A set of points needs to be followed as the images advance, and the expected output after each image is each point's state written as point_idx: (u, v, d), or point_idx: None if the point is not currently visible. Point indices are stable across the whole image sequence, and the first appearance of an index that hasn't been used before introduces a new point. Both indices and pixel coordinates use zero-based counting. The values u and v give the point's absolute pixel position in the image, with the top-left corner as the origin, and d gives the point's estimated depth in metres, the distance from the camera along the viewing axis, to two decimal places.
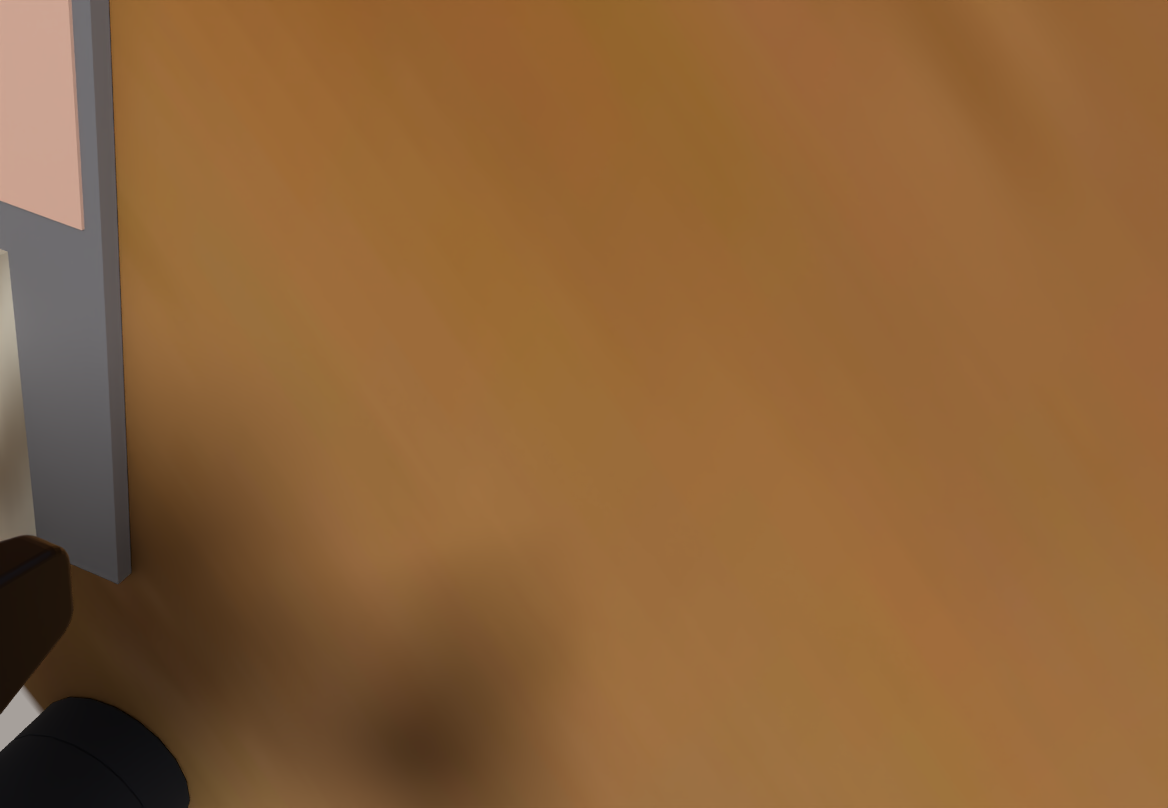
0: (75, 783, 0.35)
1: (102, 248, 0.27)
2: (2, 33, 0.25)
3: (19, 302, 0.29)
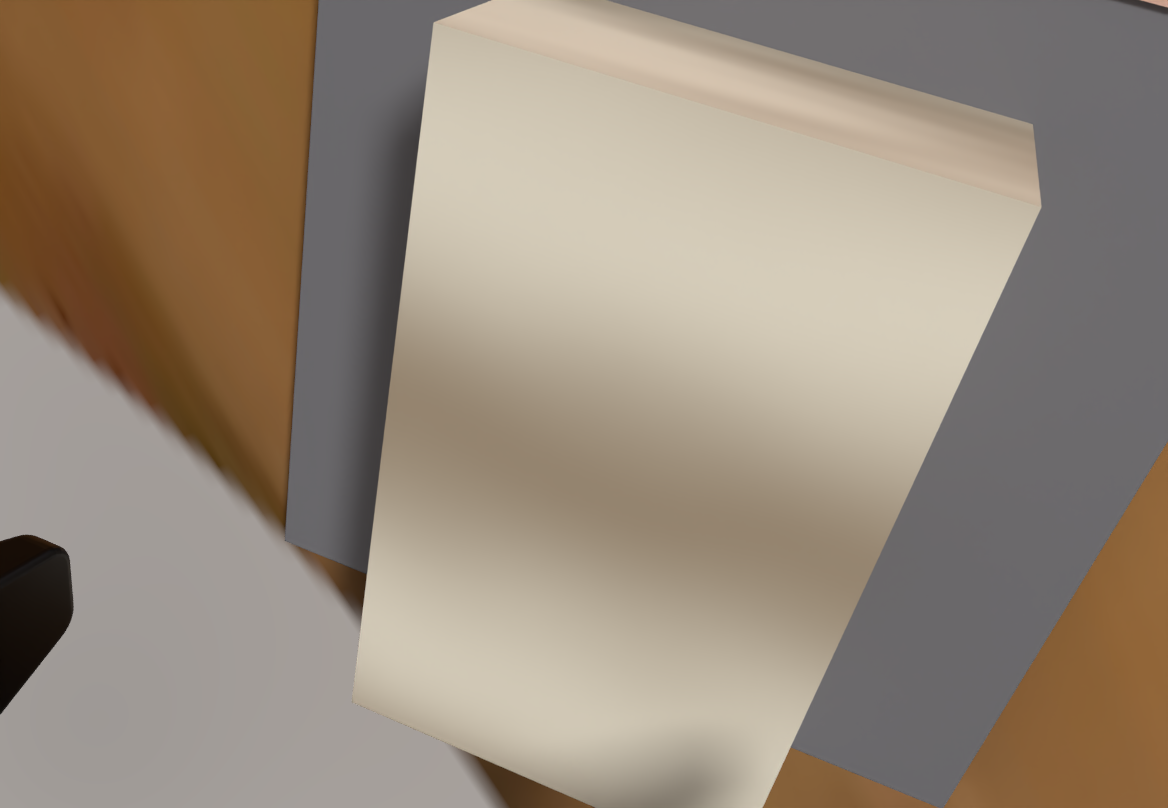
0: None
1: None
2: None
3: None
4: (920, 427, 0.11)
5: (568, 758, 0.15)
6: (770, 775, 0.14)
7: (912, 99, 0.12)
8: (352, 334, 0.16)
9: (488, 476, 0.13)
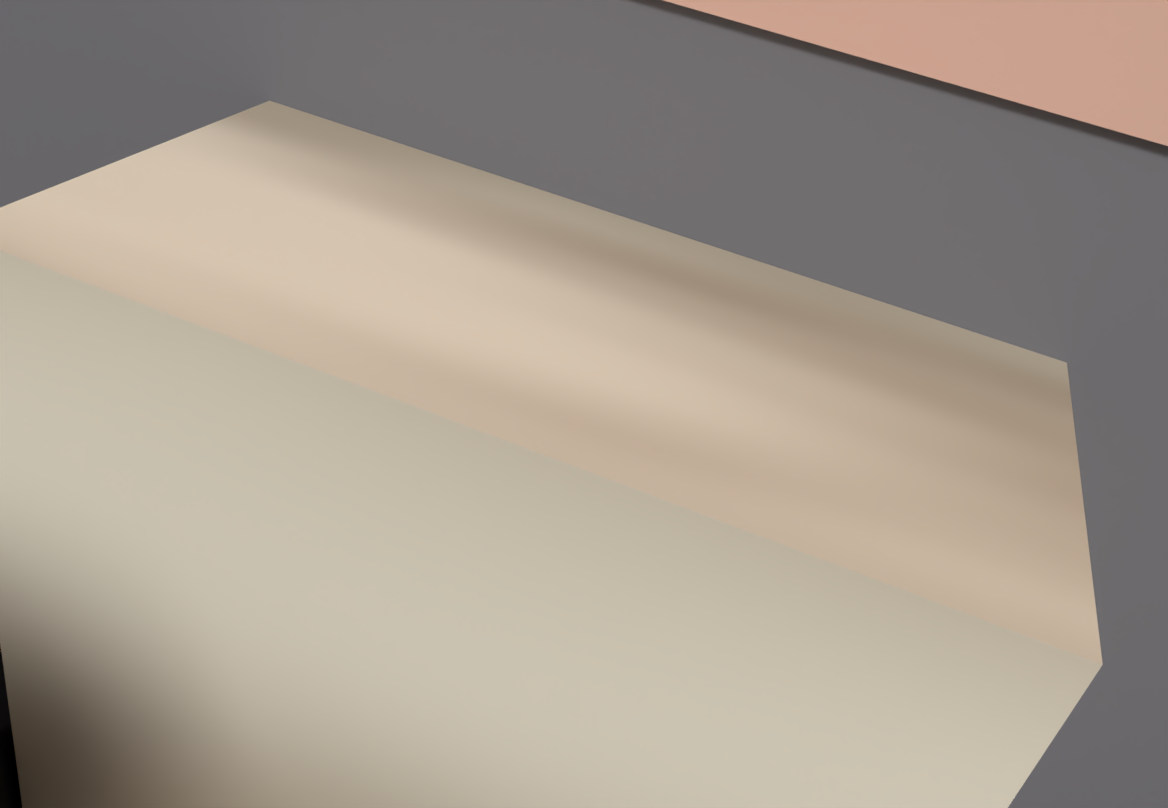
0: None
1: None
2: None
3: None
4: None
5: None
6: None
7: (860, 325, 0.07)
8: None
9: None
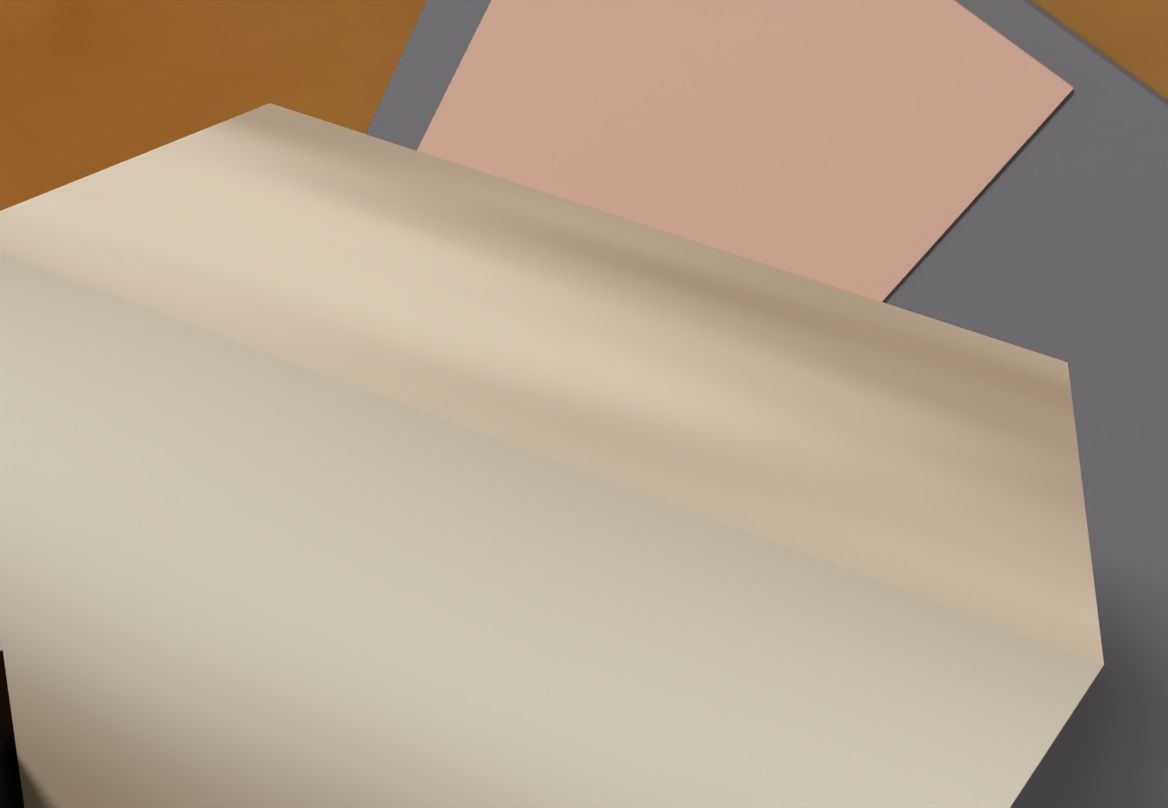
0: None
1: (1121, 73, 0.15)
2: (743, 27, 0.16)
3: (1117, 323, 0.16)
4: None
5: None
6: None
7: (860, 325, 0.07)
8: None
9: None
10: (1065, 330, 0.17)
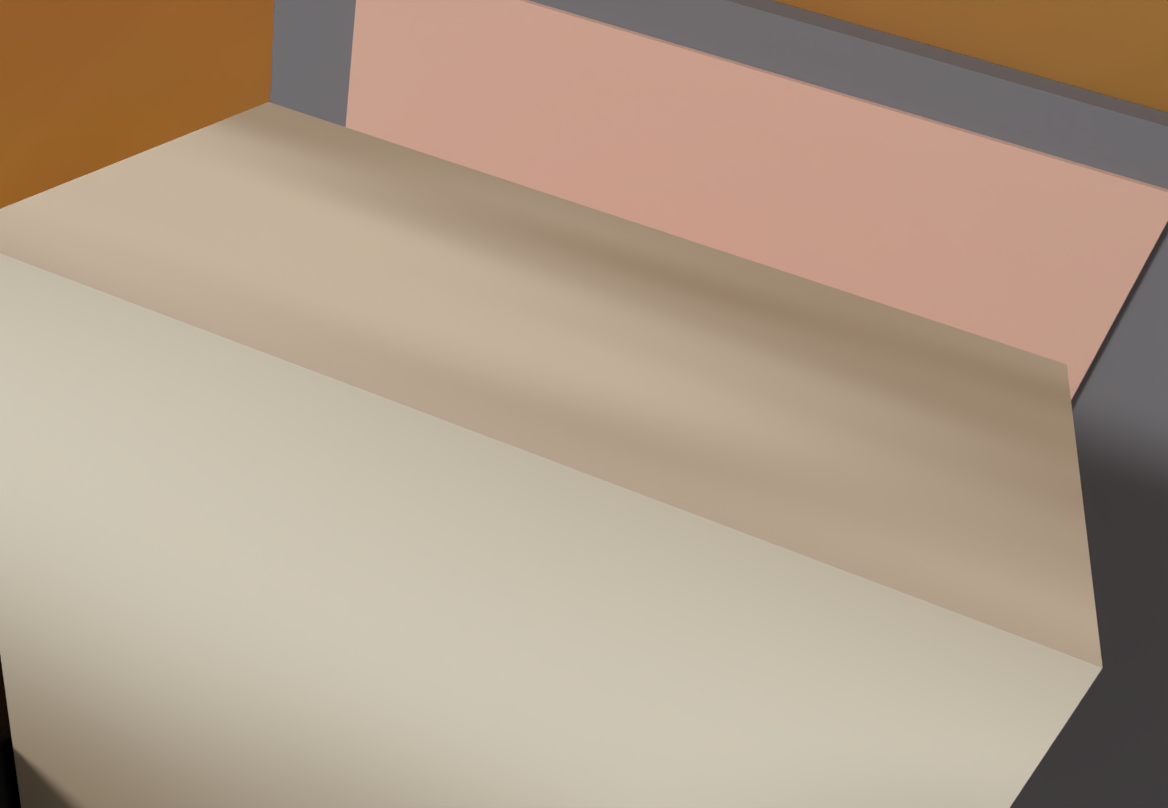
0: None
1: None
2: None
3: None
4: None
5: None
6: None
7: (859, 326, 0.07)
8: None
9: None
10: None
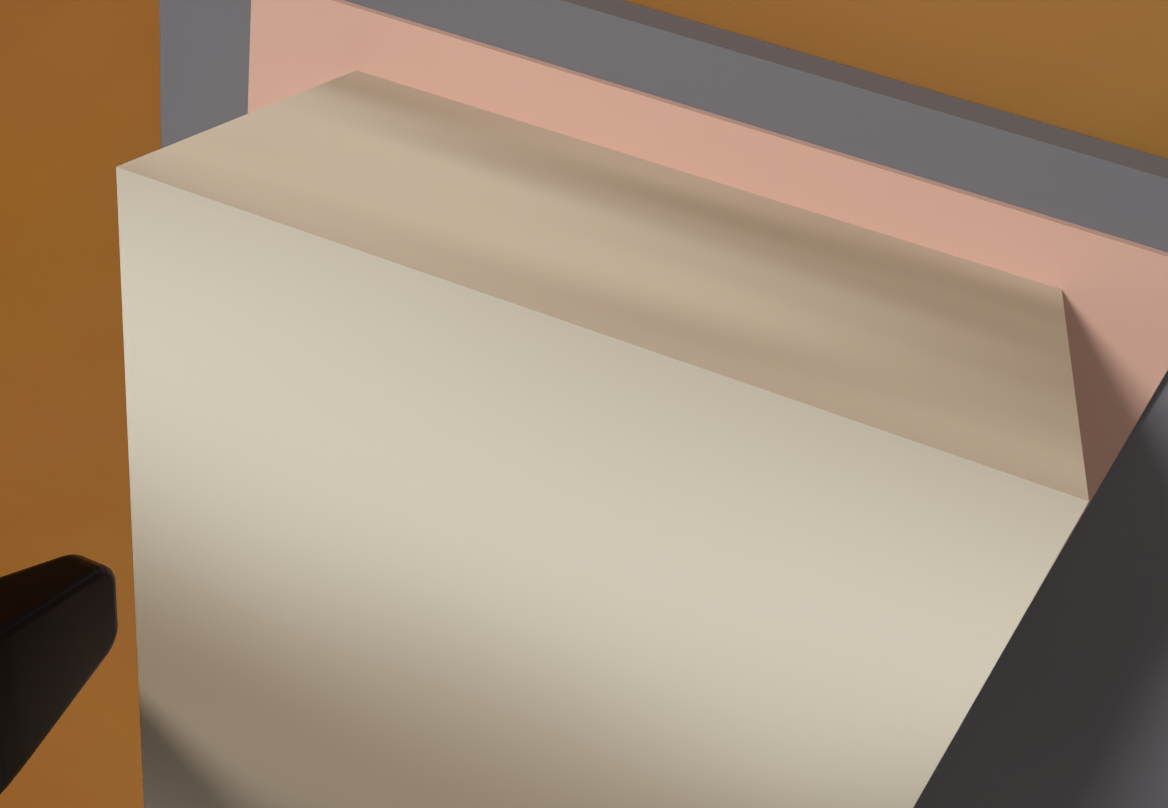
0: None
1: None
2: None
3: None
4: (894, 790, 0.07)
5: None
6: None
7: (881, 256, 0.08)
8: None
9: (283, 778, 0.09)
10: None
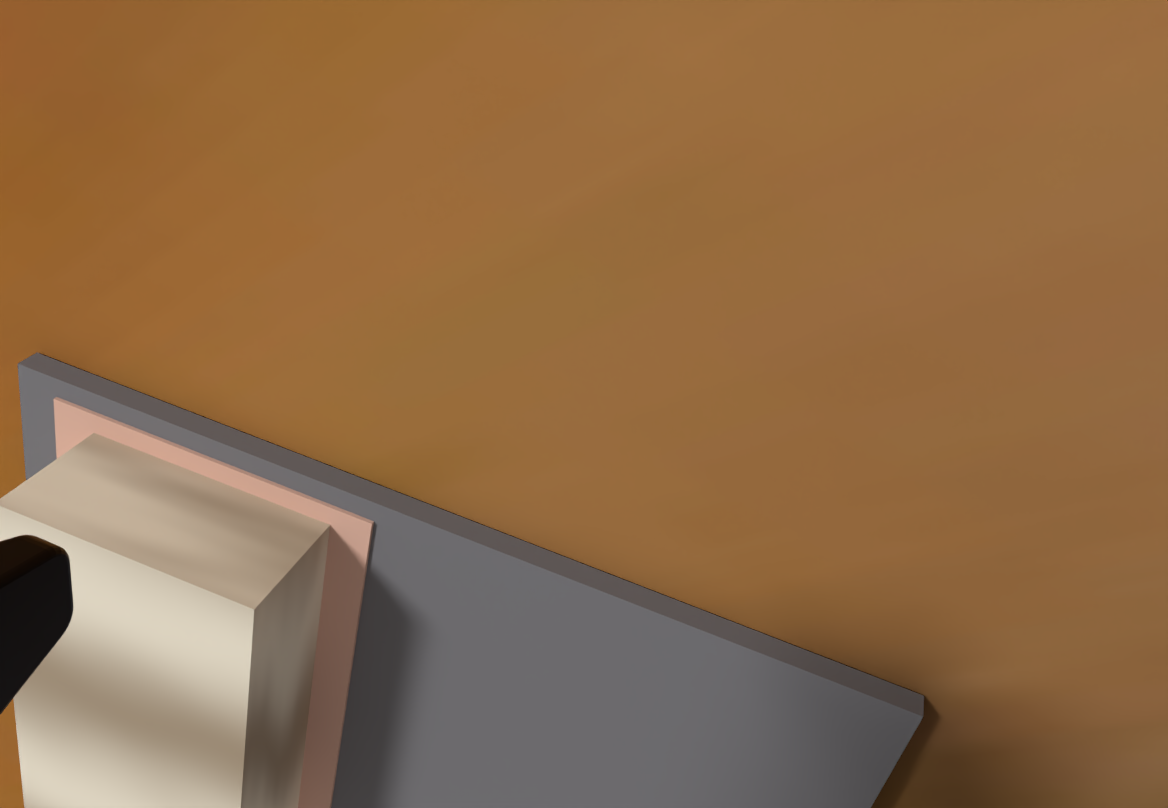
0: None
1: (393, 509, 0.23)
2: None
3: (481, 645, 0.24)
4: (241, 693, 0.22)
5: None
6: None
7: (263, 515, 0.23)
8: None
9: (65, 699, 0.24)
10: (457, 655, 0.24)
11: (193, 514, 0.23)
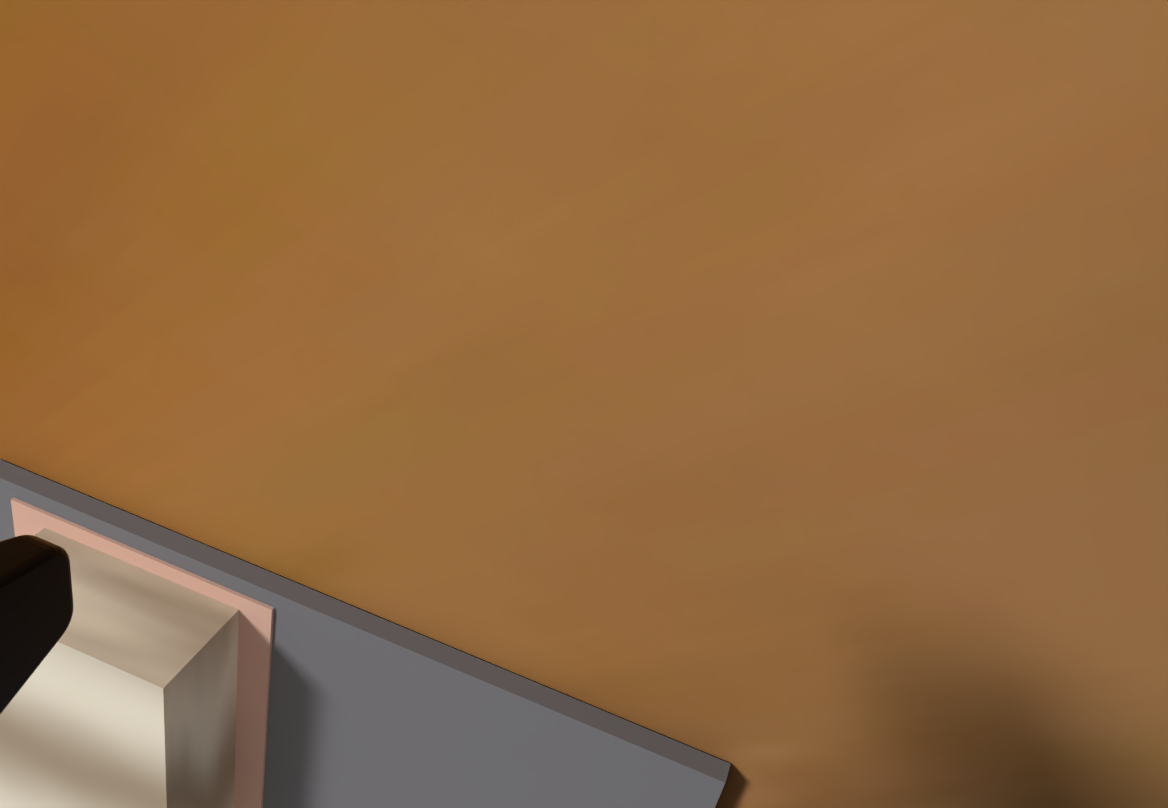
0: None
1: (288, 598, 0.27)
2: None
3: (369, 711, 0.28)
4: (159, 754, 0.26)
5: None
6: None
7: (182, 601, 0.27)
8: None
9: (21, 753, 0.29)
10: (351, 719, 0.28)
11: (121, 602, 0.27)
